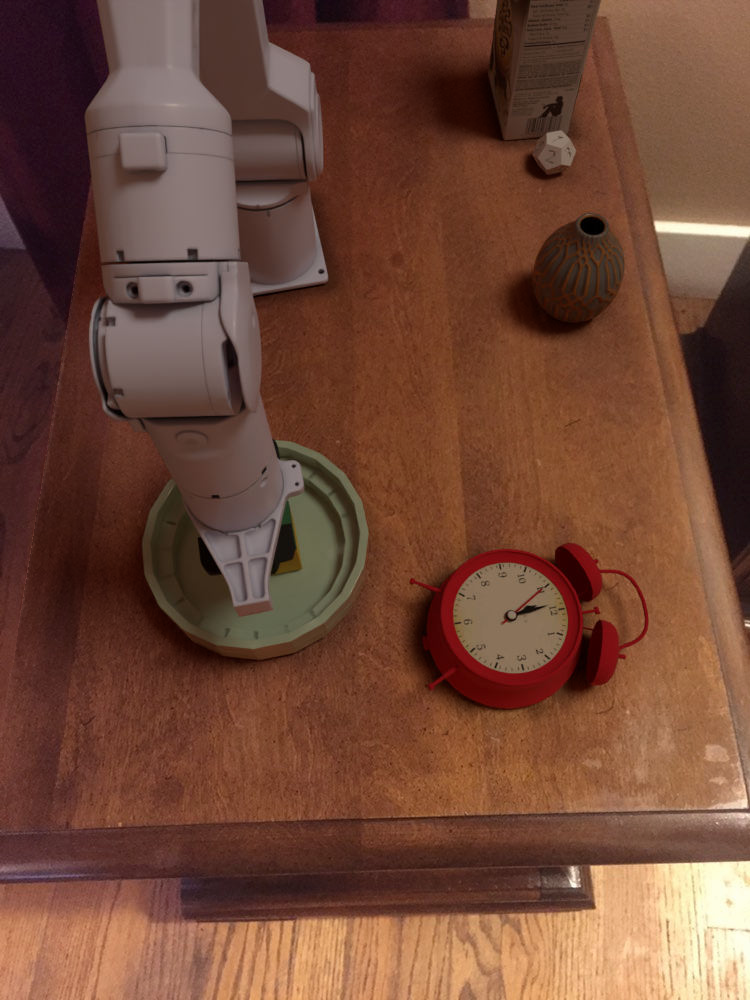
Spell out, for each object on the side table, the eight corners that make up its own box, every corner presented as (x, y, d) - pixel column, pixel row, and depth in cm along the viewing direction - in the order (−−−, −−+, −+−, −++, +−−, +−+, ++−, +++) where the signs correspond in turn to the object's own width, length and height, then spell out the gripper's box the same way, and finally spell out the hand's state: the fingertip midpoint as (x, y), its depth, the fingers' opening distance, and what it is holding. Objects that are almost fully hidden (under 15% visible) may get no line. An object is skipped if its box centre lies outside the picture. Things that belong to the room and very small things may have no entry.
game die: (523, 161, 74) (528, 134, 72) (556, 146, 75) (562, 118, 72) (545, 186, 73) (551, 159, 70) (579, 170, 74) (586, 143, 71)
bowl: (147, 482, 61) (134, 460, 58) (347, 445, 62) (344, 421, 59) (166, 681, 55) (152, 669, 52) (388, 636, 56) (388, 621, 53)
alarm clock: (399, 556, 54) (626, 502, 52) (417, 583, 60) (622, 536, 58) (427, 713, 50) (676, 663, 48) (443, 726, 56) (667, 682, 53)
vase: (607, 342, 66) (637, 268, 58) (521, 329, 66) (539, 254, 58) (614, 275, 69) (643, 196, 61) (532, 263, 69) (550, 183, 61)
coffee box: (485, 75, 79) (506, -108, 64) (550, 69, 79) (587, -115, 65) (501, 143, 75) (528, -35, 61) (570, 136, 75) (614, -43, 61)
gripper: (316, 560, 41) (333, 634, 53) (273, 328, 47) (298, 443, 59) (176, 588, 40) (226, 656, 53) (151, 350, 46) (201, 461, 59)
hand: (257, 545), depth 56 cm, fingers closed on sponge, 3 cm apart
